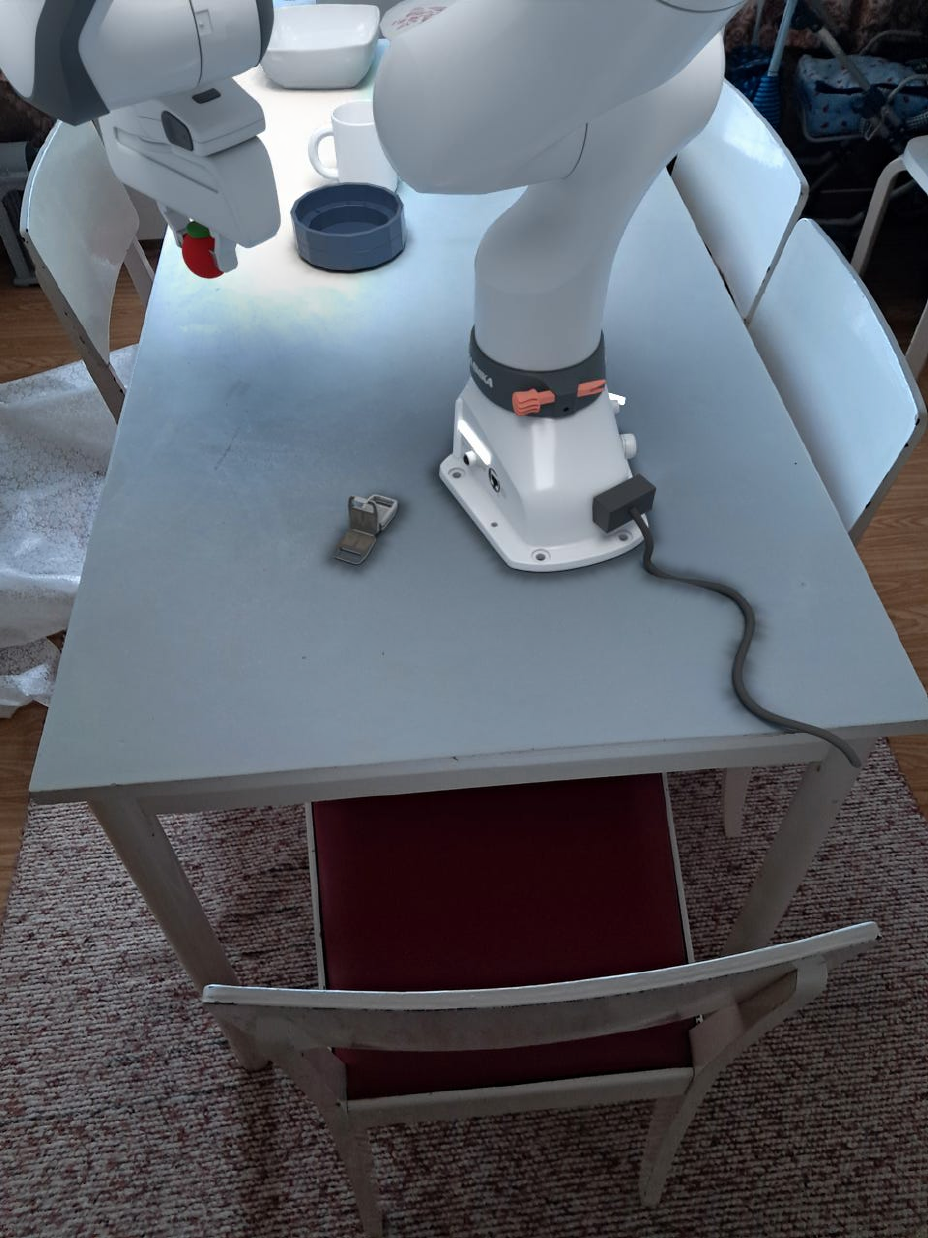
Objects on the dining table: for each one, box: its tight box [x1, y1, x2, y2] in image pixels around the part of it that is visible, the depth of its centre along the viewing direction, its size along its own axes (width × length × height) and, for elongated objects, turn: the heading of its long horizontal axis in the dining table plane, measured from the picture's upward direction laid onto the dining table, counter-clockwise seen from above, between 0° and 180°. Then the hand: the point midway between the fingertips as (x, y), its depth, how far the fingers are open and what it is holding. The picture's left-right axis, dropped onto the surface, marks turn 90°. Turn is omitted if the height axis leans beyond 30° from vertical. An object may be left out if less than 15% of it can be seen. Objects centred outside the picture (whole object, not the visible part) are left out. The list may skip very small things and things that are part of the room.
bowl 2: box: [289, 182, 407, 271], centre depth 112 cm, size 14×14×5 cm
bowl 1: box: [259, 3, 381, 90], centre depth 148 cm, size 20×20×8 cm
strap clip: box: [332, 493, 399, 565], centre depth 80 cm, size 8×3×4 cm, turn 157°
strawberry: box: [181, 220, 225, 280], centre depth 79 cm, size 4×4×5 cm
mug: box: [307, 99, 398, 193], centre depth 120 cm, size 12×8×10 cm
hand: (208, 257), depth 80 cm, fingers closed on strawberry, 4 cm apart
